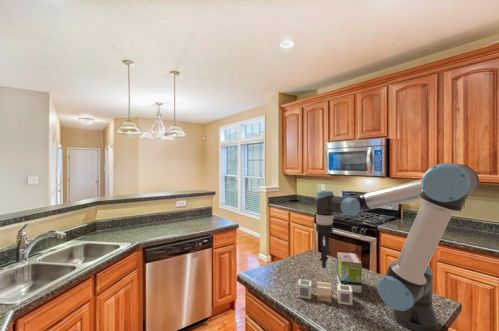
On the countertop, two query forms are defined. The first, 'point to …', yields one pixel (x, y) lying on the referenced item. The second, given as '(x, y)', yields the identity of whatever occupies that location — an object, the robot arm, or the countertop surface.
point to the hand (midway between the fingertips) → (323, 273)
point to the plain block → (324, 291)
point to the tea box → (349, 271)
